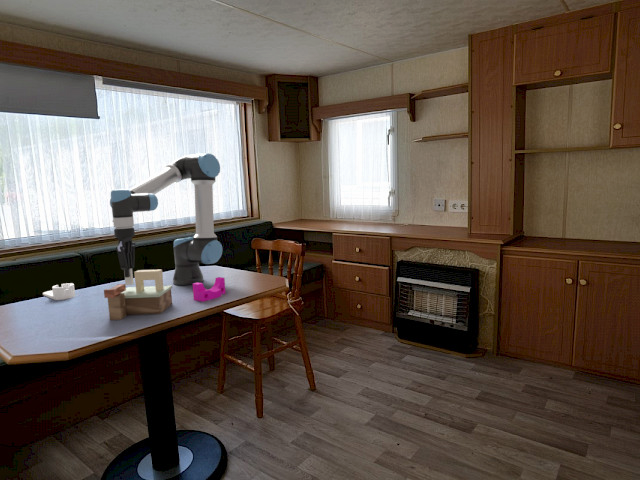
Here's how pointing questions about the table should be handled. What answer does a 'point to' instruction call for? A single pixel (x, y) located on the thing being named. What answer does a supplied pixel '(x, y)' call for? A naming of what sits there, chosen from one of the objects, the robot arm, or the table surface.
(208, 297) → the toy block
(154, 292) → the lid
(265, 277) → the table surface
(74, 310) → the table surface
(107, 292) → the wooden key
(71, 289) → the bracket
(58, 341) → the table surface
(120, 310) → the toolbox
